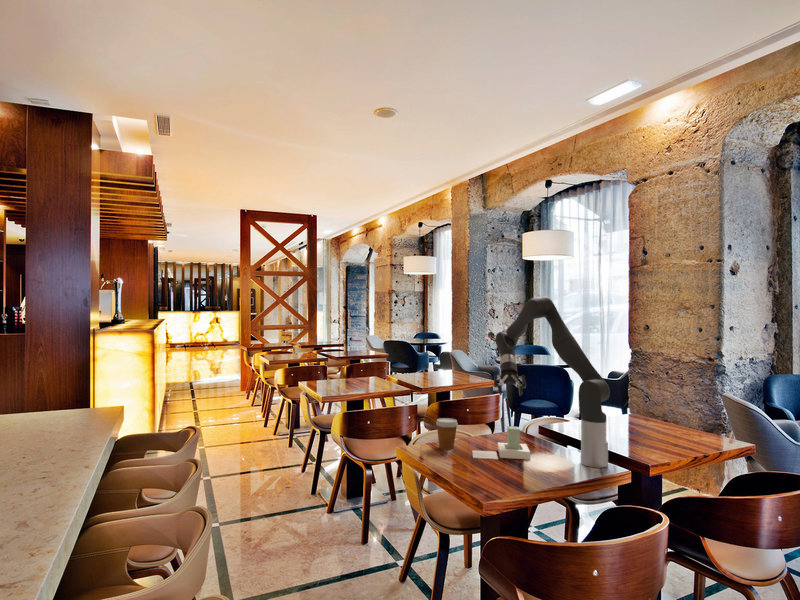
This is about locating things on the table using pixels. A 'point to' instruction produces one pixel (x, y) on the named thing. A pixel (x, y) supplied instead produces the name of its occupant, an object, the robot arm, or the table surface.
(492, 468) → the table surface
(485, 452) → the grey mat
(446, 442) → the disposable coffee cup
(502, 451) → the pocket holder
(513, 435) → the sage block
